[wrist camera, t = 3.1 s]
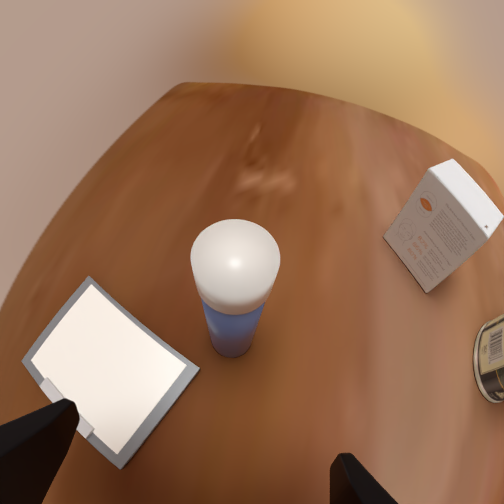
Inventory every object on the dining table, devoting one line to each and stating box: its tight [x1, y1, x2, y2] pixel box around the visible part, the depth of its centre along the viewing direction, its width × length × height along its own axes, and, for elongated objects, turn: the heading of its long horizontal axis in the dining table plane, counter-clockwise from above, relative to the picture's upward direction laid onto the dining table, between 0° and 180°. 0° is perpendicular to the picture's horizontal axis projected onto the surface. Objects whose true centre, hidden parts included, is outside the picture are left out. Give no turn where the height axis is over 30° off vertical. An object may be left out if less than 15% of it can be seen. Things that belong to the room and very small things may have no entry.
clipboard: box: [22, 276, 200, 470], centre depth 19 cm, size 11×13×1 cm
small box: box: [383, 159, 504, 293], centre depth 23 cm, size 8×6×10 cm
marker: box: [191, 219, 280, 358], centre depth 16 cm, size 3×3×13 cm
